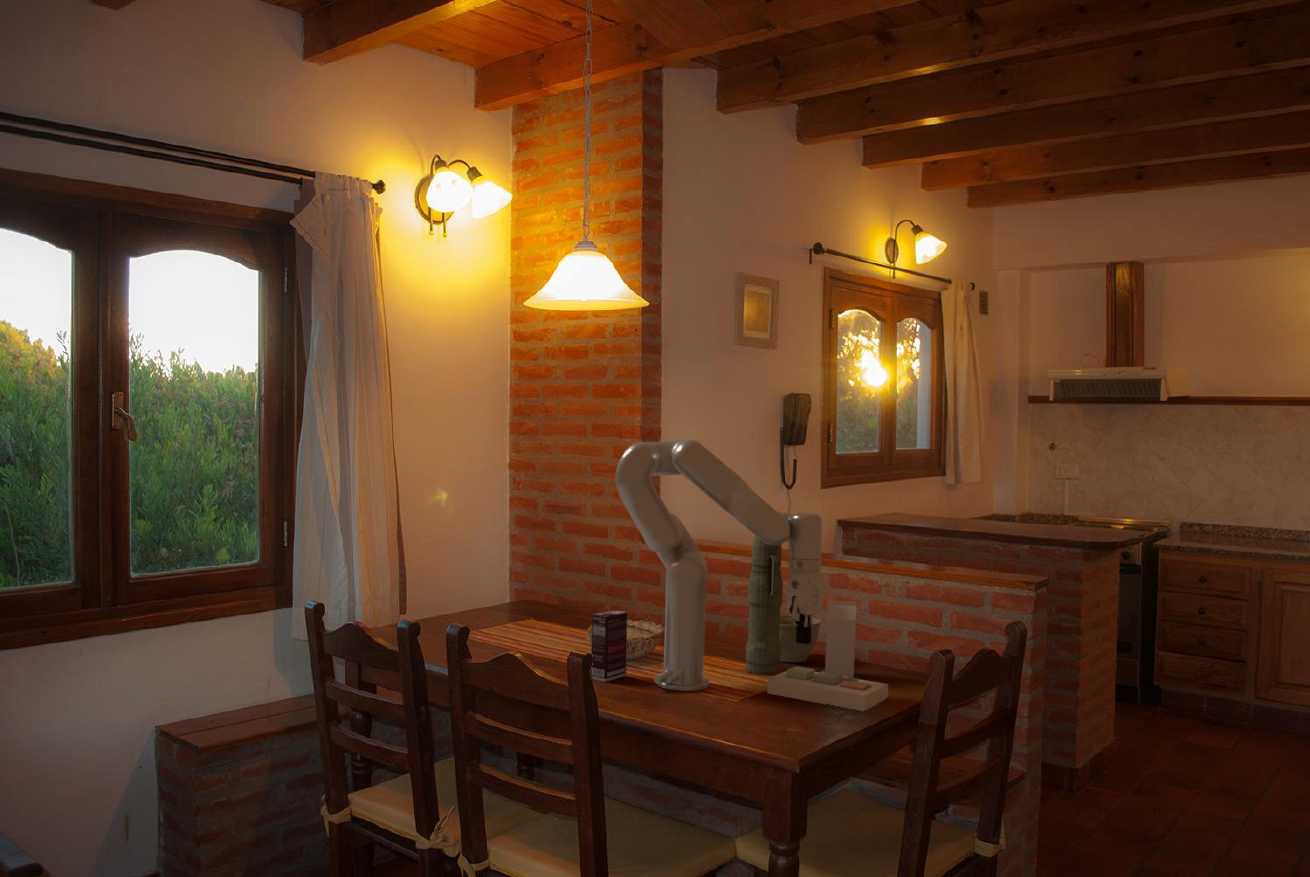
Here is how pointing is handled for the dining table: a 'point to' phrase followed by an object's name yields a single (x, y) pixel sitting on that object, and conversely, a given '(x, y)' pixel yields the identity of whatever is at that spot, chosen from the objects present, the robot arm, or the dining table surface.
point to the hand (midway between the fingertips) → (803, 642)
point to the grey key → (827, 678)
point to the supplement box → (609, 645)
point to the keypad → (828, 692)
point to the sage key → (800, 673)
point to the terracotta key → (856, 685)
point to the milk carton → (840, 637)
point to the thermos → (764, 609)
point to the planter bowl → (787, 639)
